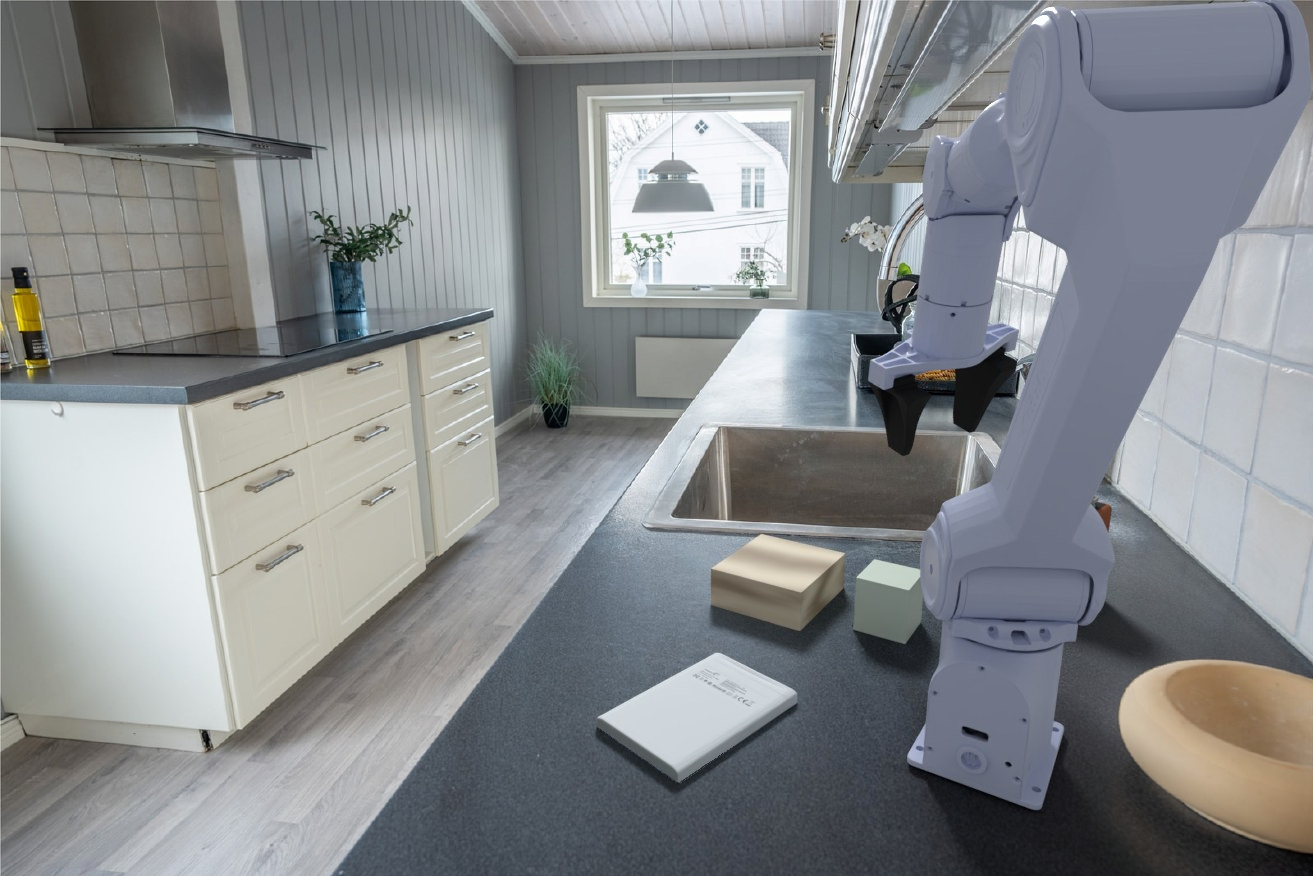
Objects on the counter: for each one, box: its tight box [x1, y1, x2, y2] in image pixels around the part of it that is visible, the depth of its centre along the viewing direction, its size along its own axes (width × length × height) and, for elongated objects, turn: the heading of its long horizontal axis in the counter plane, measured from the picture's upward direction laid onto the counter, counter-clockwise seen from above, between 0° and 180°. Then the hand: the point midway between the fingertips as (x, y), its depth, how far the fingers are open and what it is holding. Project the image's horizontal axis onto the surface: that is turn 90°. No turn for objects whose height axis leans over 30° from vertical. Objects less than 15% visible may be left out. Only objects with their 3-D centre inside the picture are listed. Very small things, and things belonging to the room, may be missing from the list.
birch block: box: [710, 533, 846, 632], centre depth 73 cm, size 10×9×4 cm
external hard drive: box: [596, 652, 798, 783], centre depth 56 cm, size 2×8×12 cm
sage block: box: [853, 558, 924, 645], centre depth 67 cm, size 4×4×5 cm
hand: (931, 438), depth 69 cm, fingers open, 7 cm apart
